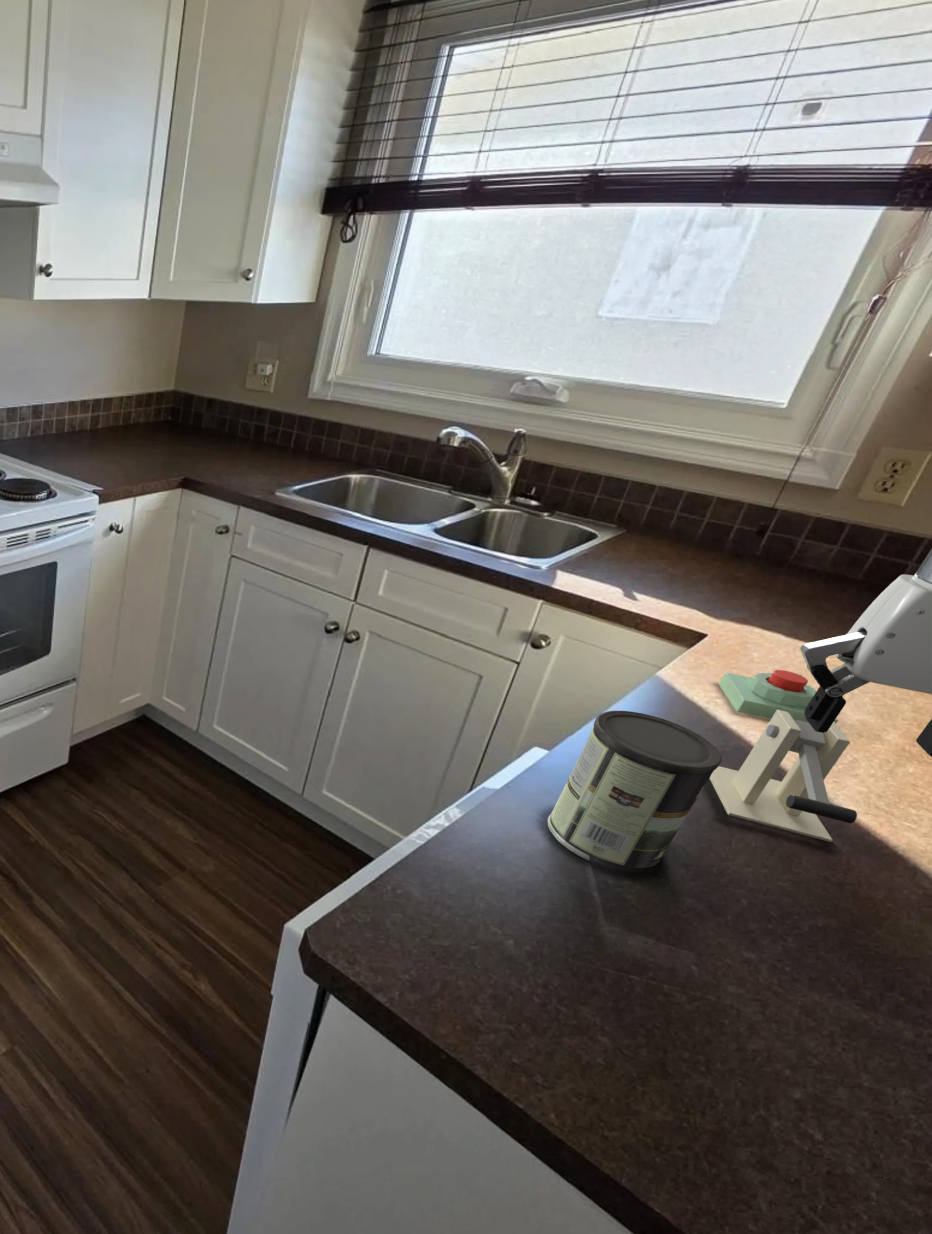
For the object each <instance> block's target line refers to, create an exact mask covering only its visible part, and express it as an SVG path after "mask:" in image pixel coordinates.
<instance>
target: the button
mask: <svg viewBox="0 0 932 1234" xmlns="http://www.w3.org/2000/svg"><path fill="white" fill-rule="evenodd" d="M771 673H772V675H771V677H770V678H769V680H768V683H770V684H772V685H773V686H775V687H778V688H781V689H784V690H787V691H792V692H802V691H803V689H804V687H805V686H806V684H807V685H808V683H809V680H808V679H807V677H805V676H803V675H801V674H798V673H796V672H793V671H789V670H784V669H783V670H782V669H775V670H773V672H771Z"/></svg>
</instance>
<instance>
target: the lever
mask: <svg viewBox="0 0 932 1234" xmlns="http://www.w3.org/2000/svg"><path fill="white" fill-rule="evenodd" d="M795 722H796V724H797V725H798V726H799V728H800V729H801V730H802V731H801V733H800V734H799V736H798V737H797V739H796V740H795V742H794V744H793V745H792V747H791V748H790V750H789V751H788V752H792V753H796V754H798V756H799V758H800V762H801V767H802V771H803V775H804V780H805V784H806V789H807V793H808V797H809V799H808V798H804V797H800V796H796V795H790V796H788V798H787V800H786V806H787V807H788V808H792V809H796V810H800V811H804V812H808V813H812V814H816V815H817V816H819V817H824V818H827V819H832V820H836V821H840V822H844V823H847V824H853V823H855V822H856V820H857V817H858V813H857V811H856V810H854V809H851V808H847V807H843V806H840V805H835V804H832V803H830V800H829V796H828V792H827V788H826V785H825V781H824V780H825V779H824V780H823V776H822V772H821V768H820V764H819V760H818V756H817V751H818V750H820V749H821V748H822V747H823V746H824V745H825V744H826V743H825V739H824V735H823V733H821V732H817V731H815V730H814V729H813V728H812V726H811V725H810V724H809V723H807V722H803V721H798V720H795Z"/></svg>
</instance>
